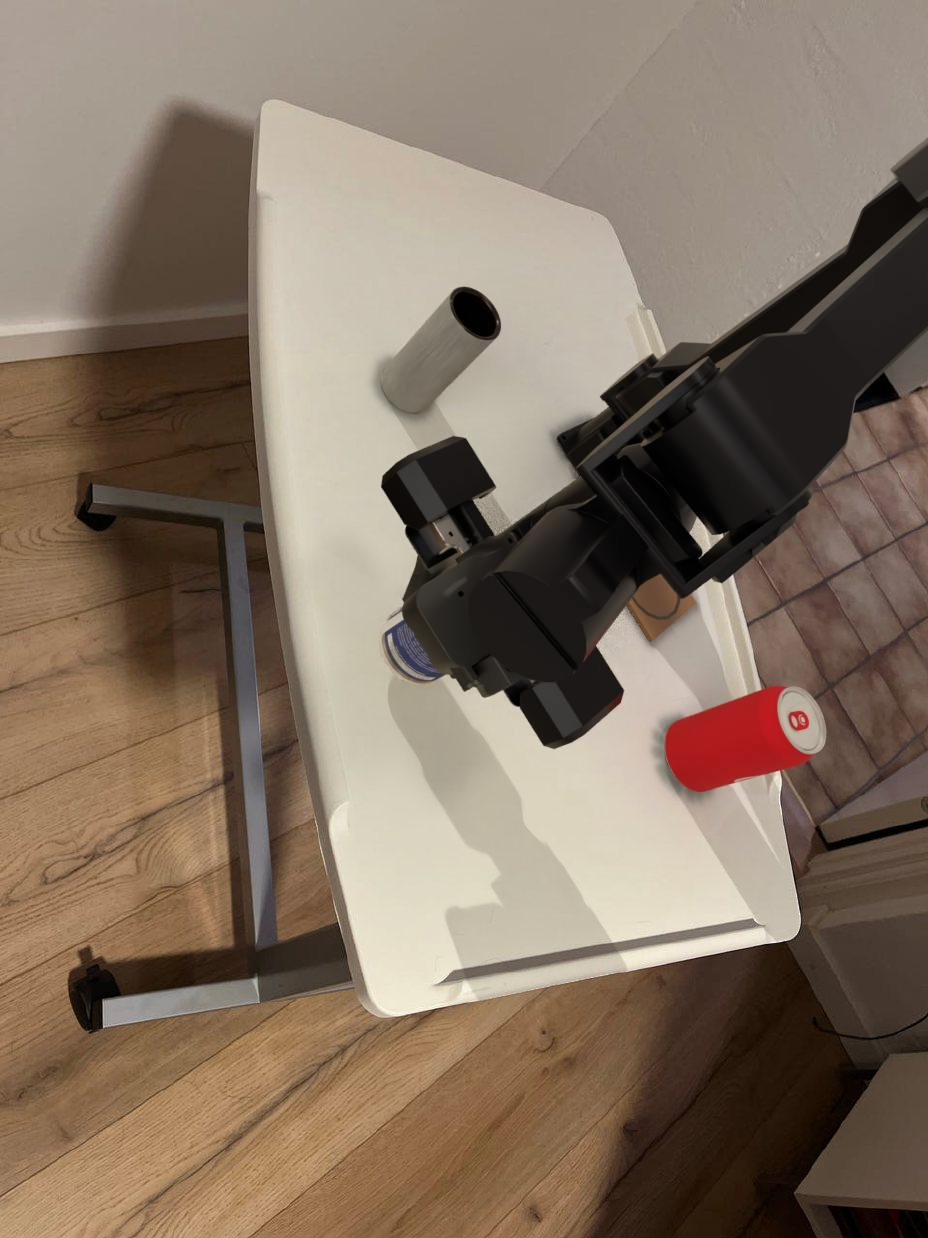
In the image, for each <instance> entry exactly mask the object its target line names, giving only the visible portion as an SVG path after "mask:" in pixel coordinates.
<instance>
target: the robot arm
mask: <svg viewBox="0 0 928 1238" xmlns="http://www.w3.org/2000/svg"><path fill="white" fill-rule="evenodd" d="M889 170H890V172H891V173H892V175H893V176H894V178H893V179H891V180H890V181H889V182H888V184H886V185H885V186H884V187H883V188H882V189H881V190H880V191H878V193H877V194H876V195H874V196H873V198H872V199H871V200H869V202H867V203H866V204H865V205H864V206H863V208H862V209H861V211H860V212H859V216H858V218H857V220H856V223H855V225H854V228H853V230H852V233H851V235H850V238H849V241H848V243H847V244H845V245H844V246H843V247H841V248H840V249H839V250H838V251H836V252H834V253H833V254H832V255H831V256H829V257H827V259H825V260H823V261H822V262H821V263H820V264H818V265H817V266H816V267H814V268H813V269H811V270H810V271H808V272H807V273H806V274H805V275H802V277H801V278H799V279H798V280H796V281H795V282H794V283H792V284H790V286H788V287H787V288H785V289H784V290H783V291H782V292H780V293H778V294H777V295H776V296H774V297H773V298H772V299H770V300H769V301H767V302H766V303H765V304H763V305H762V306H761V307H759V308H758V309H757V310H755V311H753V312H752V313H751V314H750V315H749V316H747V317H746V318H744V319H743V320H742V321H741V322H739V323H738V324H736V325H734V326H733V327H732V328H731V329H729V330H728V331H727V332H725V333H724V334H722V335H721V336H720V337H718V338H717V339H716V340H714V341H713V342H711V343H705V342H687V341H680V342H679V343H677V344H676V345H675V346H673V347H672V348H671V349H669V350H667V351H666V352H665V353H663V355H661V356H659V357H657V356H656V355H655V354H654V353H650V354H649V355H648V356H646V357H644V358H642V359H641V360H640V361H638V362H637V363H635V364H634V365H633V366H632V367H631V368H629V370H627V371H626V372H625V373H624V374H622V375H621V376H620V377H619V378H618V379H616V380H615V382H614V383H612V384H611V385H610V386H609V387H608V388H606V390H604V392H603V393H602V394H600V395H599V398H600V399H601V400H602V402H604V403H605V404H606V406H607V408H605V409H604V410H602V411H601V412H600V413H599V414H597V415H596V416H594V417H592V418H590V419H588V420H586V421H584V422H582V423H580V424H578V425H575V426H573V427H571V428H569V429H567V430H565V431H563V432H561V433H559V434H558V435H557V436H556V441H557V443H558V444H559V446H560V448H561V449H562V451H563V452H564V454H565V456H566V457H567V459H568V461H569V462H570V464H571V465H572V466H573V468H574V470H575V471H576V473H577V475H578V477H577V478H576V479H574V480H573V481H572V482H570V483H569V484H567V485H566V486H564V487H563V488H562V489H560V490H558V492H556V493H554V494H553V495H552V496H551V497H549V498H547V499H546V500H545V501H543V502H542V503H540V504H539V505H538V506H536V507H535V508H533V509H532V510H531V511H529V512H528V513H526V514H525V515H524V516H522V517H521V518H519V519H517V521H516V522H514V523H512V524H511V525H510V526H508V527H507V528H506V529H504V530H502V531H501V532H500V533H499V534H497V535H495V533H494V532H493V530H492V528H491V527H490V525H489V523H488V522H487V521H486V519H485V517H484V516H483V514H482V512H481V510H480V509H479V508H478V506H477V505H476V503H475V501H474V500H477V499H480V500H481V499H483V498H485V497H487V496H489V495H490V494H491V493H492V492H494V491H495V490H496V489H497V485H496V483H495V482H494V480H493V479H492V477H491V475H490V474H489V472H488V471H487V469H486V467H485V466H484V465H483V463H482V461H481V460H480V458H479V456H478V455H477V453H476V452H475V450H474V448H473V447H472V445H471V443H470V442H469V440H468V439H467V437H462V436H457V435H452V436H450V437H447V438H444V439H443V440H441V441H438V442H435V443H433V444H431V445H428V446H426V447H423V448H421V449H419V450H416V451H414V452H412V453H409V454H407V455H406V456H404V457H402V458H401V459H400V460H398V461H397V462H395V463H394V464H393V465H392V466H391V467H390V468H389V469H387V471H386V472H384V474H382V477H381V484H380V488H381V489H382V491H383V493H384V494H385V496H386V498H387V499H388V501H389V503H390V504H391V505H392V507H393V509H394V510H395V512H396V514H397V515H398V517H399V518H400V520H401V522H402V523H403V525H405V528H404V534H405V537H406V539H407V540H408V542H409V544H410V545H411V547H412V548H413V550H414V551H415V553H416V554H417V556H416V561H415V565H414V568H413V571H412V573H411V575H410V579H409V581H408V584H407V586H406V588H405V591H404V593H403V596H402V598H401V599H402V602H403V605H402V606H403V607H402V606H401V607H402V616H403V619H404V621H405V622H406V624H407V626H408V627H409V628H410V629H411V630H412V632H413V633H414V635H415V636H416V638H417V640H418V641H419V643H420V644H421V646H422V648H423V649H424V651H425V652H426V654H427V656H428V658H429V661H430V662H431V664H432V666H433V667H434V668H435V669H436V670H437V671H438V672H440V673H442V674H446V675H445V676H449V677H450V678H451V679H452V680H456V681H457V684H458V685H459V686H460V689H462V691H463V692H464V693H466V692H468V691H469V690H471V689H472V688H475V689H476V690H477V691H478V693H479V694H480V697H482V698H484V699H487V698H489V697H492V696H494V695H496V694H498V693H500V692H502V691H503V693H504V695H505V697H506V698H507V699H508V701H509V703H510V704H511V705H512V706H514V707H515V708H516V707H517V708H519V709H520V711H521V713H522V714H523V715H524V718H525V719H526V721H527V722H528V724H529V726H530V727H531V729H532V730H533V732H534V733H535V736H536V737H537V738H538V740H539V741H540V743H541V745H542V746H543V747H546V748H549V749H552V750H557V749H559V748H562V747H564V746H567V745H569V744H572V743H574V742H575V741H578V740H579V739H580V738H582V737H584V736H585V735H587V734H588V732H590V731H591V730H592V729H593V728H594V727H596V726H597V724H599V723H600V722H601V721H602V720H604V719H605V718H606V717H607V716H608V715H609V714H610V713H611V712H612V711H613V710H615V709H616V708H617V707H619V705H620V704H621V703H622V701H623V697H624V693H625V689H624V688H623V686H622V684H621V683H620V681H619V680H618V678H617V677H616V675H615V673H614V671H613V669H612V668H611V666H610V665H609V663H608V662H607V660H606V659H605V657H604V655H603V654H602V652H601V650H600V649H599V648H598V646H597V645H598V643H600V641H601V640H602V639H603V637H604V636H605V634H606V633H607V632H608V630H609V629H610V628H611V626H612V625H613V624H614V623H615V622H616V620H617V619H618V617H619V616H620V615H621V613H622V612H623V611H624V609H625V608H626V607H627V604H628V603H629V601H630V600H631V599H632V597H633V596H634V595H635V593H636V592H637V591H638V590H639V588H640V586H641V585H642V584H644V583H645V582H646V581H648V580H650V579H652V578H653V577H655V576H657V575H659V574H661V576H662V577H663V578H664V579H665V581H666V582H667V583H668V584H669V586H670V587H671V588H672V589H673V590H674V592H675V593H676V594H677V595H678V597H679V598H680V599H684V598H686V597H687V596H689V595H690V594H691V595H692V594H693V593H694V592H695V591H697V590H698V589H699V588H701V587H702V586H703V585H705V584H706V583H708V581H710V580H712V581H713V582H715V583H719V584H724V583H725V582H726V581H727V580H728V579H730V577H732V576H734V574H735V573H737V572H738V571H739V570H741V568H743V567H744V566H745V565H747V564H748V563H749V562H750V561H751V560H752V559H754V558H755V557H756V556H758V554H760V553H761V552H762V551H763V550H765V549H766V548H767V547H768V546H769V545H771V544H772V543H773V542H775V540H776V539H778V538H779V537H780V536H781V535H782V534H784V533H785V532H786V531H787V530H788V529H790V527H792V526H793V525H794V524H795V523H797V521H798V519H799V515H800V512H801V511H802V510H804V509H805V508H806V507H808V506H809V505H810V500H811V499H812V497H813V494H814V491H813V490H812V488H811V487H812V486H813V485H814V483H815V482H816V481H817V480H818V479H820V477H821V476H822V475H823V474H824V472H825V471H826V470H827V469H828V468H829V467H830V466H831V465H832V464H833V463H834V462H835V461H836V460H837V458H838V457H840V455H841V454H842V453H843V452H844V451H845V449H846V448H847V446H848V443H849V440H850V439H849V438H850V433H851V427H852V423H853V422H852V421H853V415H854V410H855V405H856V401H857V400H858V399H859V397H861V396H862V395H863V393H865V391H866V390H867V389H868V388H869V387H870V386H871V385H872V384H873V383H874V382H875V381H877V379H878V378H879V377H880V376H882V375H883V374H884V373H885V372H886V371H887V370H888V369H889V368H890V367H891V366H892V365H893V364H895V362H896V361H897V360H898V359H900V357H902V356H903V355H904V354H905V353H906V352H907V351H908V350H909V349H910V348H911V347H912V346H913V345H914V344H915V343H917V341H919V340H920V338H922V337H923V335H925V334H926V333H927V332H928V137H926V138H925V139H923V140H922V141H921V142H920V143H919V144H918V145H916V146H915V147H914V148H913V149H912V150H910V151H909V152H907V153H906V154H905V155H904V156H903V157H902V158H901V159H899V161H897V162H896V163H895V164H894V165H892V167H891V168H890V169H889ZM697 518H698V520H699V521H700V522H701V523H702V525H703V526H704V528H705V529H706V530H707V531H708V532H709V534H710V535H711V536H720V535H722V534H725V535H723V536H722V537H721V538H720V539H719V540H718V541H716V542H715V544H713V545H712V546H711V547H710V548H709V549H708V550H707V551H705V552H703V551H704V550H703V548H702V547H701V545H700V544H699V543H698V541H696V539H695V537H693V535H692V534H691V531H692V530H693V528H694V525H695V523H696V520H697Z"/></svg>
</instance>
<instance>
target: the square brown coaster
mask: <svg viewBox="0 0 928 1238" xmlns="http://www.w3.org/2000/svg"><path fill="white" fill-rule="evenodd" d="M696 605H697V602H696V601H695V599H694V596H693V595H692V593H691V594H690V595H689V596H687V597H686V598H684V599H680V598H679V597H678V595H677V594H676V593H675V592H674V590H673V589H672V588H671V587H670V586H669V584H668V583H667V582H666V581H665V579H664V578H663V577H662V576H661V574H659V575H657V576H655V577H653V578H652V579H650V580H648V581H646V582H645V583H644V584H642V585H641V586H640V588H639V590H638V591H637V592H636V593H635V595H634V596H633V597H632V599H631V600H630V601H629V603H628V604H627V605H626V607H627V609H628V610H629V611H630V613H631V615H632V616H633V618H634V619H635V621H636V623H637V624H638V626H639V627H640V629H641V631H642V632H643V634H644V635H645V637H646V639H647V640H648V642H652V641H653V640H655V639H656V638H657V637H659V636H660V635H661V634H662V633H663V632H665V631H666V630H667V629H668V628H669V627H670V626H672V625H673V624H675V622H676V621H677V620H679V619H680V618H681V617H682V616H684V615H685V614H686V613H687V612H689V611H690V610H691V609H692V608H694V607H695V606H696Z"/></svg>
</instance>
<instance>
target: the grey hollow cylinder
mask: <svg viewBox="0 0 928 1238" xmlns="http://www.w3.org/2000/svg"><path fill="white" fill-rule="evenodd" d="M501 330H502V320H501V317H500V313H499V312H498V310H497V308H496V306H495V305H494V304H493V302H492V301H491V300H490V298H489V297H487V296H486V295H485V294H483V292H481V291H480V290H478V289H476V288H473V287H470V286H458V287H456V288H454V289H452V291H451V292H450V293H449V294H448V295H447V297H446V298H445V299H444V300H443V301H442V302H441V303H440V305H438V307H437V308H436V309H435V310H434V311H433V313H431V315H430V316H429V317H428V318H427V319H426V321H425V322H424V323H423V324H422V326H420V327H419V328H418V330H417V331H416V332H415V333H414V334H413V336H412V337H410V339H409V340H408V341H407V342H406V344H405V345H404V346H403V347H402V348H401V349H400V350H399V351H398V353H397V354H396V355H395V356H394V357H393V359H391V360H390V361H389V363H388V364H387V365H386V367H385V368H384V369H383V371H382V372H381V376H380V384H381V388H382V391H383V394H384V395H385V396H386V398H387V400H388V401H389V402H391V404H392V406H393V407H394V406H395V407H396V408H397V409H398V410H399V411H402V412H405V413H408V414H419V413H422V412H424V411H425V410H426V409H427V408H428V407H430V406H431V405H432V404H433V402H434V401H436V400H437V398H438V397H439V396H440V395H442V394H443V392H445V391H446V389H448V388H449V387H450V386H451V384H452V383H454V381H456V379H458V377H459V376H460V375H462V374H463V372H464V371H466V369H467V368H468V367H469V366H470V365H472V363H473V362H475V361H476V359H477V358H479V357H480V355H482V353H483V352H484V351H485V350H487V348H489V346H490V345H491V344H492V343H493V342H495V340H497V338H498V337H499V336H500V334H501Z"/></svg>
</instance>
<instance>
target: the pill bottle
mask: <svg viewBox="0 0 928 1238" xmlns="http://www.w3.org/2000/svg"><path fill="white" fill-rule="evenodd" d="M402 607H403V605H402V606H401V607H399V608H398V609H396V610H395V611H393V613H391V614H390V615H389V616H388V617H387V618H386V619H385V621H384V622H383V624H382V625H381V628H380V631H379V635H378V646H379V651H380V655H381V657H382V660H383V662H384V664H385V666H386V667H387V668H388V670H389V671H390V672H391V673H392V674H393V675H394V676H395V677H396V678H398V679H400V680H401V681H402V682H406V683H408V684H411V685H427V684H431V683H433V682H436V681H438V680H439V679H441V678H443V677H444V676H447V675H446V674H442V673H440V672H438V671H437V670H436V669H435V668H434V667H433V666H432V664H431V662H430V661H429V658H428V656H427V654H426V652H425V651H424V649H423V648H422V646H421V644H420V643H419V641H418V640H417V638H416V636H415V635H414V633H413V632H412V630H411V629H410V628H409V627H408V626H407V624H406V622H405V621H404V619H403V616H402Z"/></svg>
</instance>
